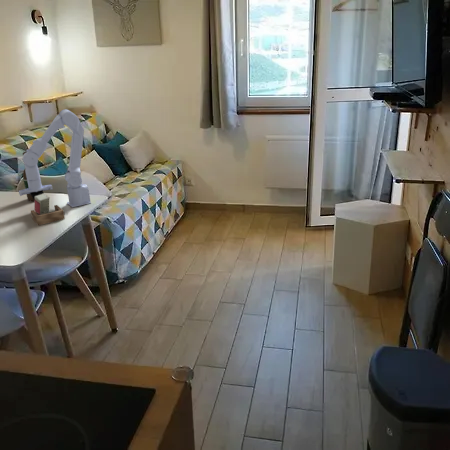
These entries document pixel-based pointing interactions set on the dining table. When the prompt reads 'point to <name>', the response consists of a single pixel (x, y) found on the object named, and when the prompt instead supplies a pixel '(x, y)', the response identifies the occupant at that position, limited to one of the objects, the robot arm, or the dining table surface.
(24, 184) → the beer bottle
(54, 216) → the walnut shelf bay
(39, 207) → the small box
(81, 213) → the dining table surface
